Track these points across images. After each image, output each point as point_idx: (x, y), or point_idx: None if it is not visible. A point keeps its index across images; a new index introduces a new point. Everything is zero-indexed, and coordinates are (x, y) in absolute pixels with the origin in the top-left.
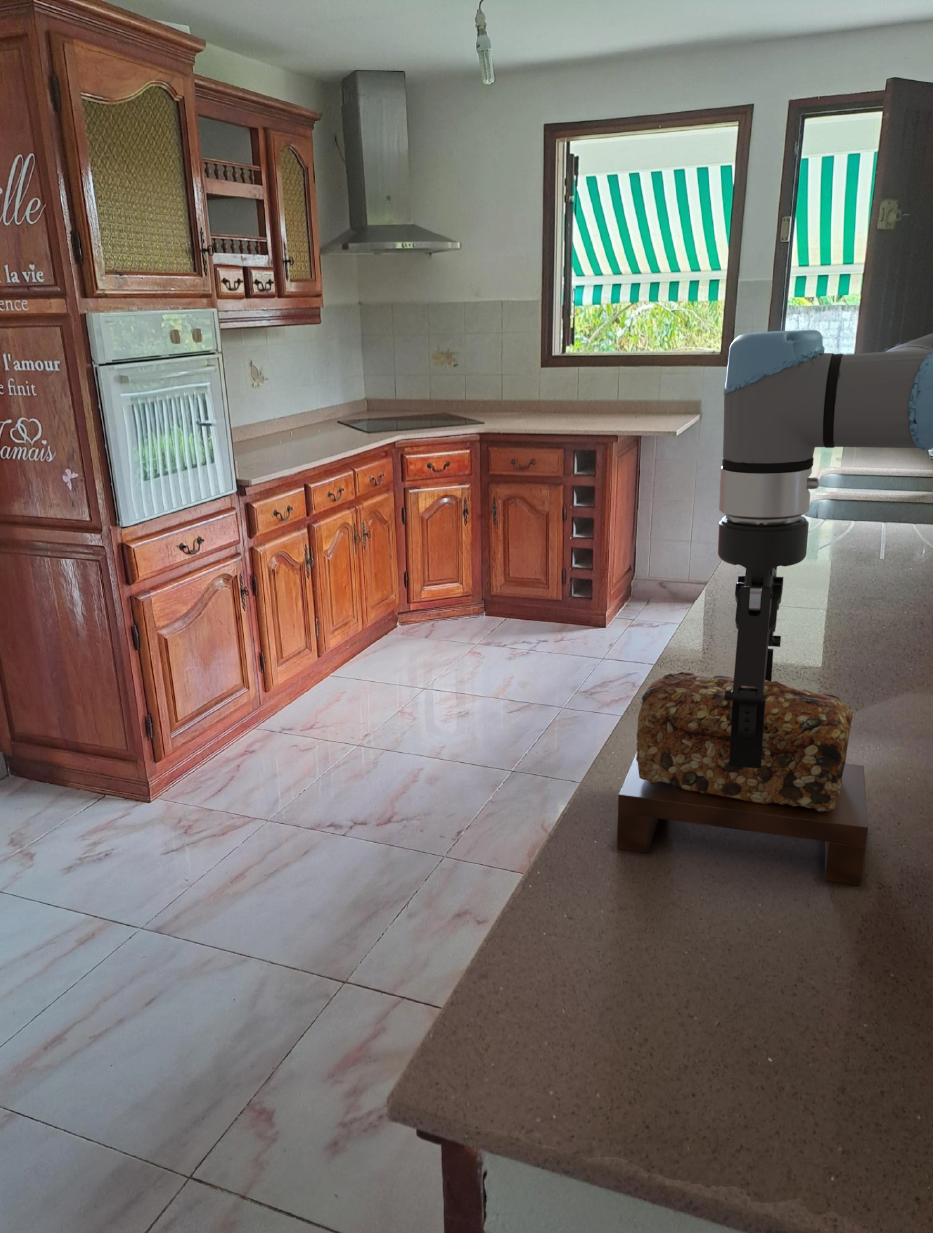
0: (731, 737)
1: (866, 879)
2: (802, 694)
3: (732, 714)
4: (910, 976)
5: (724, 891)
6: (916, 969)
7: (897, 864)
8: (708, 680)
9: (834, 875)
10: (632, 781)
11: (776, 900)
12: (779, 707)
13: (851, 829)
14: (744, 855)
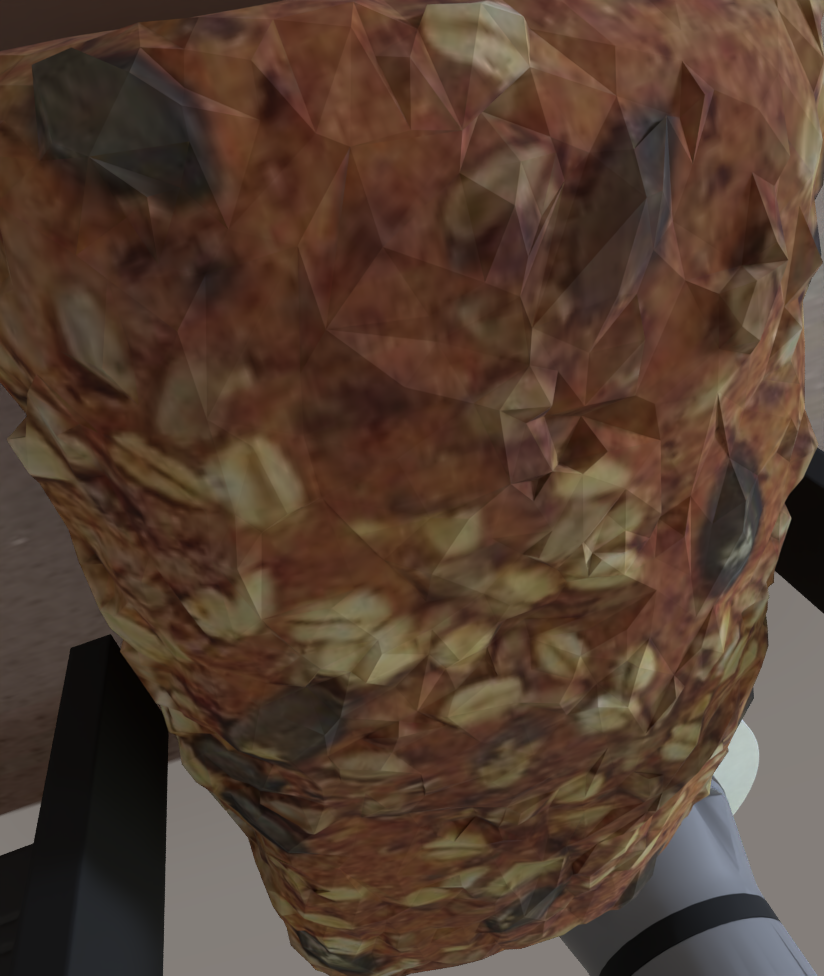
0: (47, 778)
1: None
2: (574, 878)
3: (23, 921)
4: (6, 800)
5: (4, 454)
6: (37, 797)
7: None
8: (577, 551)
9: None
10: (71, 18)
11: (70, 560)
12: (383, 892)
13: None
14: None
